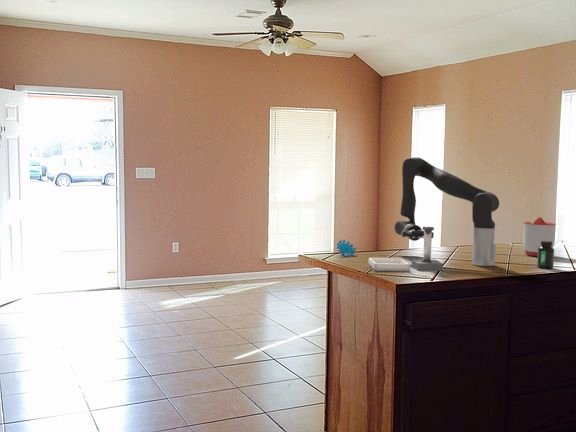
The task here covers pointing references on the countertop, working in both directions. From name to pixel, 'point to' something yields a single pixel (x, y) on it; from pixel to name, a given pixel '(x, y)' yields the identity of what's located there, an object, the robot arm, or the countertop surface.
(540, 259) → the supplement bottle
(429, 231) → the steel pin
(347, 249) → the gear
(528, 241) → the citrus juicer
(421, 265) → the block
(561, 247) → the countertop surface
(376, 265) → the tray
